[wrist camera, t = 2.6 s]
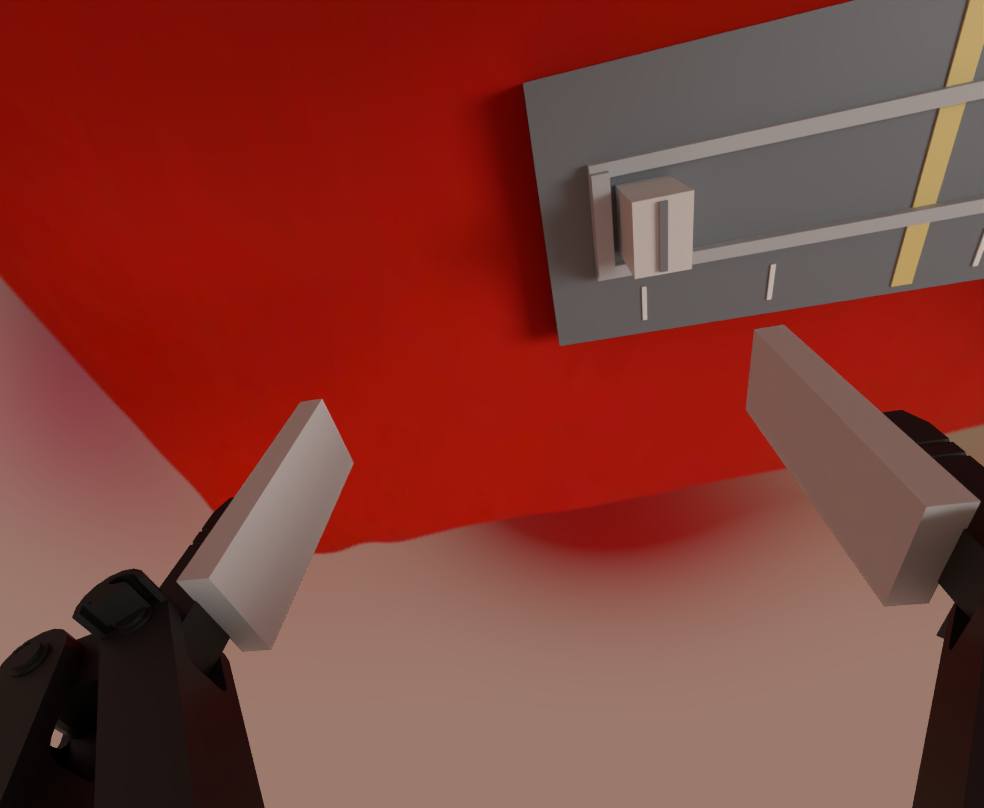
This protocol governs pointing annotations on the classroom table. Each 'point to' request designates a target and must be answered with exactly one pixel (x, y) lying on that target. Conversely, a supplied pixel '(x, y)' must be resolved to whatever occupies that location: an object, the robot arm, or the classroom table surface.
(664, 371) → the classroom table surface
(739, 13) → the classroom table surface
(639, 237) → the fader tab
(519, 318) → the classroom table surface
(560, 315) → the panel
